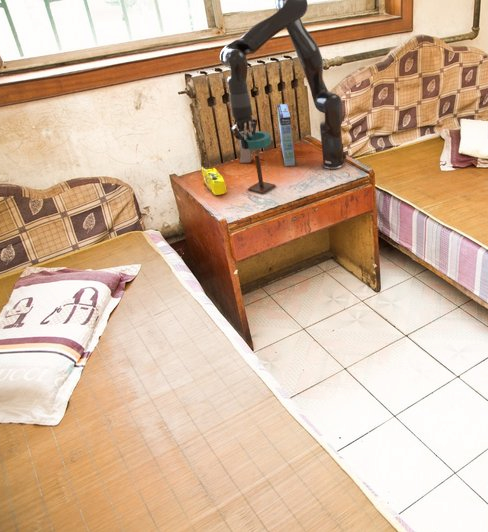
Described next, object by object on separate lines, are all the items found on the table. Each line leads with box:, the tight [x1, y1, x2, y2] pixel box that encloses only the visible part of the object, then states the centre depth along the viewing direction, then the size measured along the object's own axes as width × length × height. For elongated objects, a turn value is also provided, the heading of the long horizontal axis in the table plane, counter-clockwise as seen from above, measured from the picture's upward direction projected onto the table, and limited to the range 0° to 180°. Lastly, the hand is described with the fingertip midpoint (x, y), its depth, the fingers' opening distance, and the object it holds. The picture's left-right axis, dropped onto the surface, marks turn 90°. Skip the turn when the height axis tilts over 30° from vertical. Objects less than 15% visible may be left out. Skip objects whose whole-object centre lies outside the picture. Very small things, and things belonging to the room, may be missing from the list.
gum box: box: [276, 103, 296, 167], centre depth 252 cm, size 20×5×23 cm, turn 13°
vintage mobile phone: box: [236, 131, 252, 164], centre depth 249 cm, size 4×5×25 cm
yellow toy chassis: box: [201, 166, 228, 196], centre depth 229 cm, size 16×6×8 cm, turn 31°
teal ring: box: [239, 130, 272, 150], centre depth 218 cm, size 12×12×3 cm
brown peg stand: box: [247, 153, 276, 195], centre depth 227 cm, size 8×8×15 cm
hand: (247, 147), depth 215 cm, fingers closed on teal ring, 2 cm apart
